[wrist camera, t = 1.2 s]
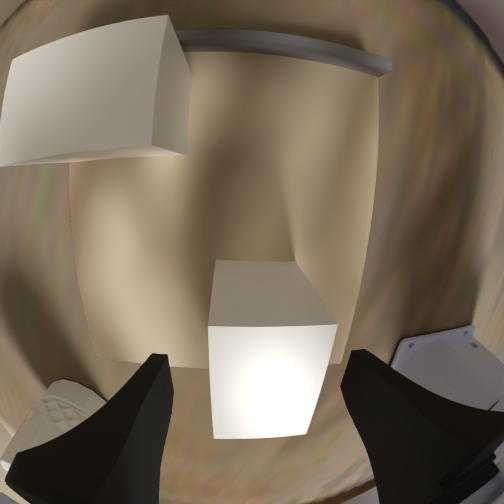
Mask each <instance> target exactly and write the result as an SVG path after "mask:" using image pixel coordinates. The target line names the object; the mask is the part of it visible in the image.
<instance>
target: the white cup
mask: <svg viewBox="0 0 504 504" xmlns="http://www.w3.org/2000/svg"><path fill="white" fill-rule="evenodd" d="M106 403H107V402H106V401H105V400H104V399H102V398H101V397H100V396H99V395H97V394H96V393H95V392H94V391H92V390H90V389H88V388H87V387H85V386H83V385H81V384H79V383H77V382H73V381H69V380H65V379H61V380H58V381H54V382H53V383H52V384H51V385H50V387H49V388H48V389H47V391H46V392H45V394H44V395H43V397H42V398H41V400H40V401H39V402H38V403H37V404H35V406H34V407H33V409H32V410H31V412H30V413H29V414H28V416H27V417H26V418H25V420H24V421H23V423H22V424H21V426H20V427H19V429H18V431H17V432H16V434H15V435H14V437H13V439H12V440H11V442H10V443H9V445H8V447H7V448H6V450H5V452H4V453H3V455H2V457H1V459H0V463H1V465H2V466H3V467H4V469H5V470H6V471H7V472H8V471H9V468H10V466H11V464H12V462H13V459H14V457H15V455H16V454H17V452H21V451H24V450H27V449H30V448H33V447H36V446H38V445H41V444H43V443H46V442H48V441H50V440H52V439H54V438H56V437H58V436H60V435H62V434H64V433H66V432H68V431H69V430H71V429H72V428H74V427H75V426H77V425H79V424H80V423H81V422H83V421H84V420H86V419H87V418H89V417H90V416H91V415H92V414H94V413H95V412H96V411H97V410H99V409H100V408H101V407H102V406H103V405H104V404H106Z"/></svg>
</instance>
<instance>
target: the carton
mask: <svg viewBox="0 0 504 504" xmlns="http://www.w3.org/2000/svg"><path fill="white" fill-rule="evenodd" d="M337 326H338V324H337V322H336V321H335V319H334V318H333V316H332V315H331V313H330V312H329V310H328V309H327V307H326V306H325V304H324V303H323V301H322V300H321V298H320V297H319V295H318V294H317V292H316V291H315V289H314V288H313V286H312V285H311V283H310V282H309V280H308V279H307V277H306V276H305V275H304V273H303V272H302V270H301V269H300V267H299V266H298V264H297V263H296V262H290V261H247V260H216V261H215V269H214V277H213V286H212V294H211V303H210V311H209V321H208V345H209V370H210V389H211V405H212V420H213V433H214V438H215V439H248V438H270V437H283V436H293V435H302V434H306V433H307V430H308V427H309V424H310V421H311V418H312V415H313V412H314V409H315V406H316V403H317V400H318V397H319V393H320V390H321V387H322V383H323V380H324V377H325V373H326V369H327V366H328V362H329V358H330V355H331V351H332V347H333V343H334V339H335V335H336V330H337Z"/></svg>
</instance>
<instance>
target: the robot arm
mask: <svg viewBox="0 0 504 504" xmlns="http://www.w3.org/2000/svg"><path fill="white" fill-rule="evenodd" d="M474 331H475V326H473V325H469V326H465V327H460V328H456V329H452V330H447V331H442V332H437V333H432V334H427V335H422V336H416V337H411V338H405V339H403V340H402V341H401V342H400V344H399V346H398V349H397V352H396V354H395V357H394V359H393V362H392V364H391V367H390V366H389V365H388V364H386V363H385V362H383V361H382V360H380V359H379V358H378V357H376V356H375V355H373V354H372V353H370V352H369V351H367V350H365V349H361V350H352V351H351V354H350V358H349V361H348V364H347V367H346V370H345V373H344V376H343V379H342V382H341V385H340V387H341V390H342V394H343V397H344V401H345V404H346V407H347V409H348V411H349V413H350V415H351V418H352V420H353V422H354V424H355V426H356V428H357V430H358V432H359V435H360V437H361V439H362V441H363V443H364V445H365V448H366V450H367V453H368V456H369V460H370V463H371V466H372V470H373V474H374V478H375V482H376V486H377V491H378V497H379V503H380V504H504V364H503V363H502V362H501V361H500V360H499V359H498V358H497V357H496V356H494V355H493V354H492V353H491V352H490V351H489V350H488V349H487V348H486V347H484V346H483V345H482V344H481V343H480V342H479V341H477V340H476V339H475V338H474V337H473V333H474ZM173 394H174V389H173V384H172V378H171V372H170V366H169V359H168V354H157V353H152V354H151V355H150V356H149V357H148V358H147V359H146V361H145V362H144V363H143V364H142V366H141V367H140V368H139V369H138V370H137V371H136V373H135V374H134V375H133V376H132V377H131V378H130V379H129V380H128V382H127V383H126V384H125V385H124V386H123V387H122V388H121V389H120V390H119V391H118V392H117V393H116V394H115V395H114V396H113V397H112V398H111V399H110V400H109V401H108V402H107V403H106V404H104V405H103V406H102V407H101V408H100V409H99V410H97V411H96V412H95V413H94V414H92V415H91V416H90V417H89V418H87V419H86V420H84V421H83V422H81V423H80V424H79V425H77V426H75V427H74V428H72V429H71V430H69V431H68V432H66V433H64V434H62V435H60V436H58V437H56V438H54V439H52V440H50V441H48V442H46V443H43V444H41V445H38V446H36V447H33V448H30V449H27V450H24V451H21V452H17V454H16V455H15V457H14V459H13V462H12V464H11V466H10V468H9V471H8V473H7V475H6V478H5V482H6V484H7V485H8V486H9V487H10V488H11V489H12V490H13V491H15V492H16V493H17V494H19V495H20V496H21V497H22V498H23V499H25V500H26V501H27V502H29V503H30V504H159V481H160V467H161V460H162V455H163V450H164V445H165V441H166V436H167V432H168V427H169V423H170V418H171V414H172V405H173ZM0 504H19V503H17V502H16V501H14V500H13V499H11V498H10V497H8V496H6V495H5V494H3V493H0Z"/></svg>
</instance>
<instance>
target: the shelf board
mask: <svg viewBox="0 0 504 504" xmlns="http://www.w3.org/2000/svg"><path fill="white" fill-rule="evenodd" d="M174 31H175V33H176V36H177V38H178V41H179V43H180V45H181V48H182V50H183V53H184V55H185V58H186V60H187V63H188V66H189V68H190V71H191V73H192V76H193V78H192V88H191V99H190V111H189V125H188V141H187V155H180V156H144V157H126V158H112V159H100V160H89V161H80V162H69V201H70V218H71V231H72V240H73V249H74V257H75V264H76V271H77V277H78V282H79V288H80V293H81V298H82V303H83V308H84V312H85V316H86V320H87V324H88V328H89V332H90V336H91V340H92V343H93V347H94V350H95V353H96V357H99V358H105V359H112V360H119V361H126V362H134V363H142V364H143V363H144V362H145V361H146V359H147V358H148V357H149V356H150V355H151V354H152V353H157V354H168V359H169V366H175V367H190V368H209V345H208V321H209V311H210V303H211V294H212V286H213V277H214V269H215V261H216V260H247V261H290V262H296V263H297V264H298V266H299V267H300V269H301V270H302V272H303V273H304V275H305V276H306V277H307V279H308V280H309V282H310V283H311V285H312V286H313V288H314V289H315V291H316V292H317V294H318V295H319V297H320V298H321V300H322V301H323V303H324V304H325V306H326V307H327V309H328V310H329V312H330V313H331V315H332V316H333V318H334V319H335V321H336V322H337V324H338V326H337V330H336V335H335V339H334V343H333V347H332V351H331V355H330V358H329V362H328V364H338V363H341V360H342V357H343V354H344V350H345V347H346V343H347V339H348V336H349V332H350V328H351V324H352V320H353V316H354V312H355V307H356V303H357V299H358V294H359V289H360V284H361V280H362V274H363V269H364V264H365V258H366V252H367V246H368V240H369V233H370V227H371V219H372V211H373V203H374V194H375V183H376V171H377V157H378V136H379V80H378V77H380V76H382V75H384V74H386V73H388V72H390V71H392V70H393V69H392V60H389V59H387V58H384V57H381V56H378V55H375V54H372V53H369V52H366V51H362V50H359V49H356V48H352V47H348V46H345V45H341V44H337V43H333V42H328V41H324V40H319V39H314V38H309V37H303V36H298V35H291V34H284V33H277V32H268V31H257V30H243V29H185V30H174Z"/></svg>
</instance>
